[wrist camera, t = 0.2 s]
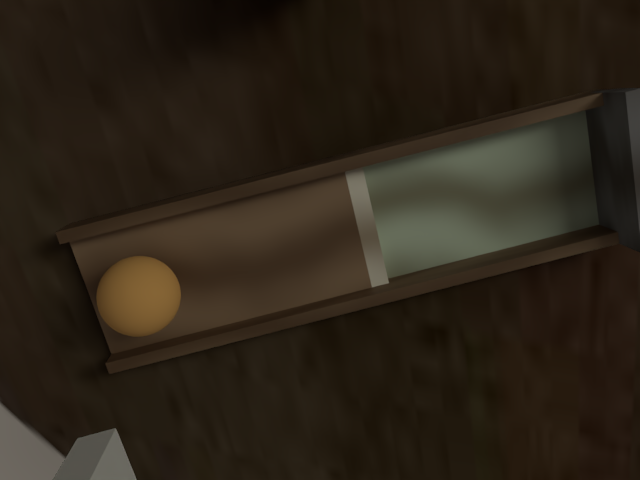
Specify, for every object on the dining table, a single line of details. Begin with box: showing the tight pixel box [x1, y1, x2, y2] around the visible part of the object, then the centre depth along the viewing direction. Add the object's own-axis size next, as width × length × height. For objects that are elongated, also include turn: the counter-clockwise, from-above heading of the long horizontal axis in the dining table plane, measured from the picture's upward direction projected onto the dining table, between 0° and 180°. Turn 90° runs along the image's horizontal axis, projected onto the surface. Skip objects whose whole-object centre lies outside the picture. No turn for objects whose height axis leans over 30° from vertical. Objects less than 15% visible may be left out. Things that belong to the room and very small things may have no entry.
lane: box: [55, 88, 640, 374], centre depth 36 cm, size 10×36×5 cm, turn 104°
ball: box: [96, 256, 181, 337], centre depth 35 cm, size 5×5×5 cm
